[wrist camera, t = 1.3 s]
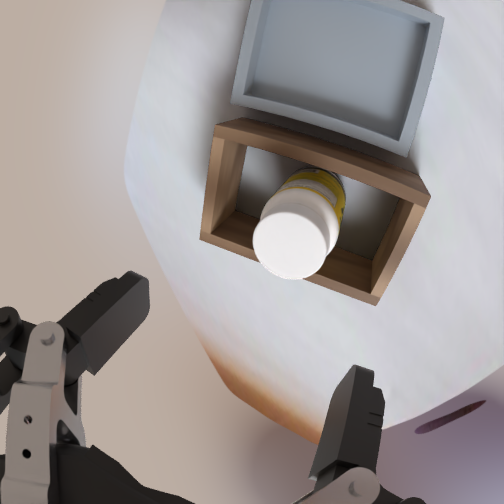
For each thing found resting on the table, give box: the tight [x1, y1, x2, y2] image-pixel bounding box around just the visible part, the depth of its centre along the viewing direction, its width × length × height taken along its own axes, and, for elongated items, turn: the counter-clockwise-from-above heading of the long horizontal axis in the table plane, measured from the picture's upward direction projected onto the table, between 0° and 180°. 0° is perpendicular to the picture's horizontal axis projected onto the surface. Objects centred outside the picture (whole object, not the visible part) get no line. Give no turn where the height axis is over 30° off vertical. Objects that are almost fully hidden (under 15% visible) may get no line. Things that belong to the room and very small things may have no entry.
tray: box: [230, 0, 444, 158], centre depth 16 cm, size 10×12×2 cm
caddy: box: [200, 117, 431, 306], centre depth 21 cm, size 9×14×4 cm, turn 78°
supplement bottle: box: [253, 166, 346, 279], centre depth 19 cm, size 5×5×8 cm
